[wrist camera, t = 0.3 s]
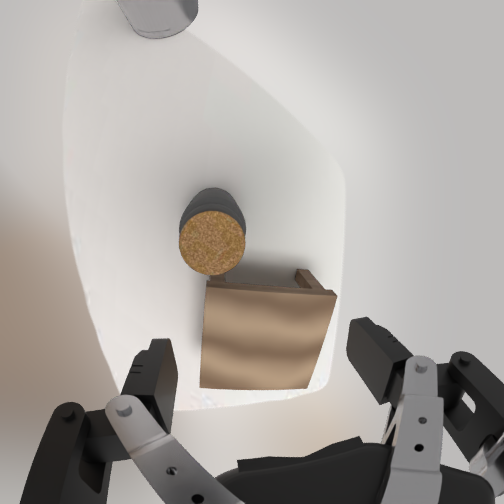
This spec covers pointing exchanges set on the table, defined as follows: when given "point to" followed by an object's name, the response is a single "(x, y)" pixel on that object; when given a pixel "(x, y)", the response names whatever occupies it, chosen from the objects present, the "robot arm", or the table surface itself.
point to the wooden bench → (263, 333)
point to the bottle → (212, 232)
